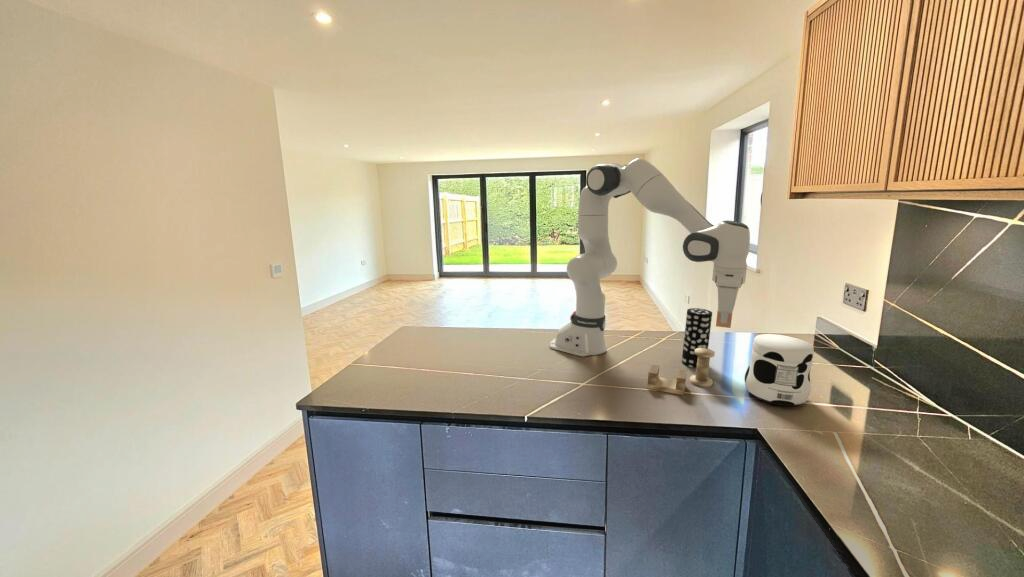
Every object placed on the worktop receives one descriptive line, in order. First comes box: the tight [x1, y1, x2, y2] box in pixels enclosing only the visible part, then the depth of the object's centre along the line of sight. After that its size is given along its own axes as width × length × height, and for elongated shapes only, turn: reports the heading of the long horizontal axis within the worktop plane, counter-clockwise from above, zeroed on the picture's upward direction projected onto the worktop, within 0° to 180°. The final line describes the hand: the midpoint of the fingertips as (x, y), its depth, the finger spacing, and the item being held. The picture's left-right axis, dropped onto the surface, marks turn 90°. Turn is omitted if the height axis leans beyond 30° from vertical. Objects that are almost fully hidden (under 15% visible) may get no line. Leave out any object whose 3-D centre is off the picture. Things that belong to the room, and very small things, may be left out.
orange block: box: [715, 310, 733, 329], centre depth 130 cm, size 4×4×5 cm
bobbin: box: [689, 348, 715, 388], centre depth 141 cm, size 7×7×11 cm
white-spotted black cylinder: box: [681, 307, 713, 369], centre depth 155 cm, size 8×8×20 cm
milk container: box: [744, 333, 815, 407], centre depth 130 cm, size 17×17×18 cm
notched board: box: [646, 364, 688, 396], centre depth 138 cm, size 11×7×6 cm, turn 65°
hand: (723, 320), depth 131 cm, fingers closed on orange block, 4 cm apart
